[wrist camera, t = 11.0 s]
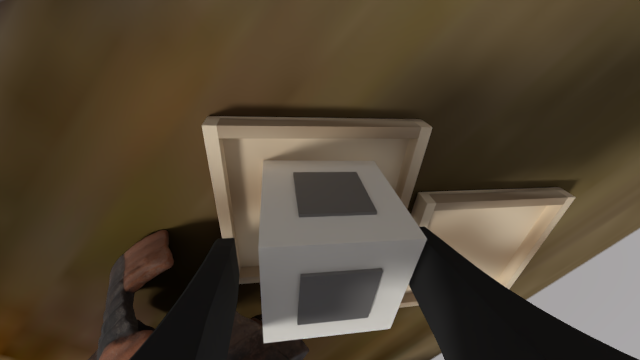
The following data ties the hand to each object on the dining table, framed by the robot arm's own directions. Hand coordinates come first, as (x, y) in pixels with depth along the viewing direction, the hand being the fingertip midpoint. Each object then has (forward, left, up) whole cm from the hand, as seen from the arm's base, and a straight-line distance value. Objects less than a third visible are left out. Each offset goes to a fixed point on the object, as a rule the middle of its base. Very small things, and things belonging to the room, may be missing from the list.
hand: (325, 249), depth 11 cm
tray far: (-4, -10, -3) cm, 11 cm away
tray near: (0, 0, -3) cm, 3 cm away
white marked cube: (0, 0, -3) cm, 3 cm away
